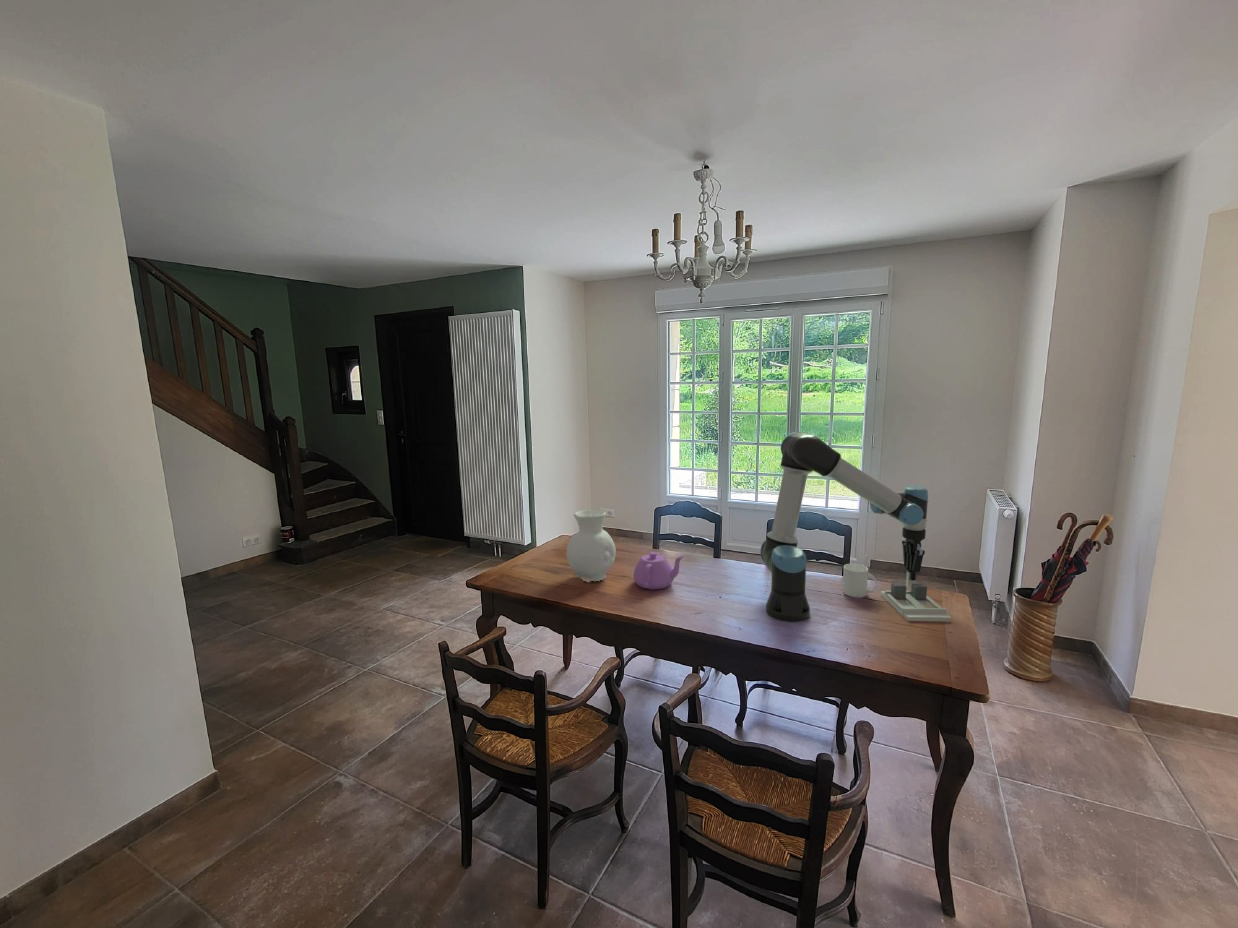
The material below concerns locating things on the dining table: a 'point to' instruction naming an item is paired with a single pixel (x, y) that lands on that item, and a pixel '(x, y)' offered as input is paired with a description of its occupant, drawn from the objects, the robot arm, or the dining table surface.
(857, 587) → the mug
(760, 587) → the dining table surface
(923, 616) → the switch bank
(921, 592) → the tab
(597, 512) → the vase
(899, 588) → the tab
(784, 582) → the robot arm
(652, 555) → the teapot
